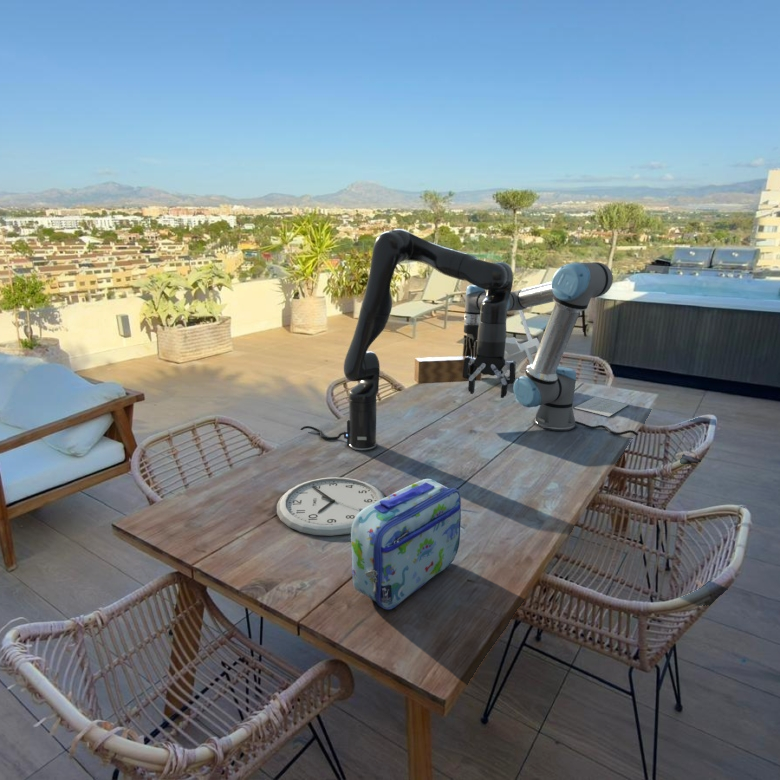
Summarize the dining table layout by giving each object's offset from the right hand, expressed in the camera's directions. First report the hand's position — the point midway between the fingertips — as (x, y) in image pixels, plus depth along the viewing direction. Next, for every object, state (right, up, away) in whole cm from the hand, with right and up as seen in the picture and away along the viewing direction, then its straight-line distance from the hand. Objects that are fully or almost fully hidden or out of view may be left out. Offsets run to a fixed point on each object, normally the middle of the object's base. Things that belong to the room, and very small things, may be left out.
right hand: (469, 377), depth 221 cm
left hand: (-7, -7, -75) cm, 75 cm away
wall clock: (-50, -37, -78) cm, 100 cm away
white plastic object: (+23, -2, +37) cm, 43 cm away
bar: (-10, -1, -2) cm, 10 cm away
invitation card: (+58, -13, +5) cm, 59 cm away
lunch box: (-30, -47, -108) cm, 122 cm away
